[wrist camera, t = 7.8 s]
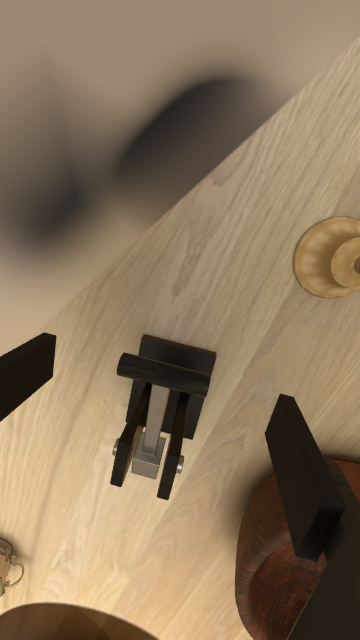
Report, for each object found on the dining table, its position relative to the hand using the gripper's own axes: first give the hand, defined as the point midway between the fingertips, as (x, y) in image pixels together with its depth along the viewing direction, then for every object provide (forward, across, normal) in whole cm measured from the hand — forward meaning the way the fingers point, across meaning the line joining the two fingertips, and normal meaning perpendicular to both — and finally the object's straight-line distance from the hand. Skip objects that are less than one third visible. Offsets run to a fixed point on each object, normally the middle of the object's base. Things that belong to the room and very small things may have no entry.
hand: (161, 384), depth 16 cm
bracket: (+17, 0, -10) cm, 20 cm away
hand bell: (+18, +14, +9) cm, 24 cm away
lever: (+4, 0, -5) cm, 7 cm away
